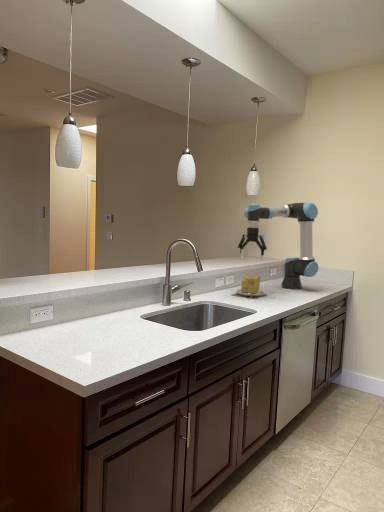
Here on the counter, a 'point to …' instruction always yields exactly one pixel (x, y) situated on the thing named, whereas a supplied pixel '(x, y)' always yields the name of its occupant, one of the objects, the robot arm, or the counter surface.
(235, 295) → the base plate
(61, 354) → the counter surface
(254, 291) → the cheese
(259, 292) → the metal dish with post
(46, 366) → the counter surface
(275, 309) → the counter surface
